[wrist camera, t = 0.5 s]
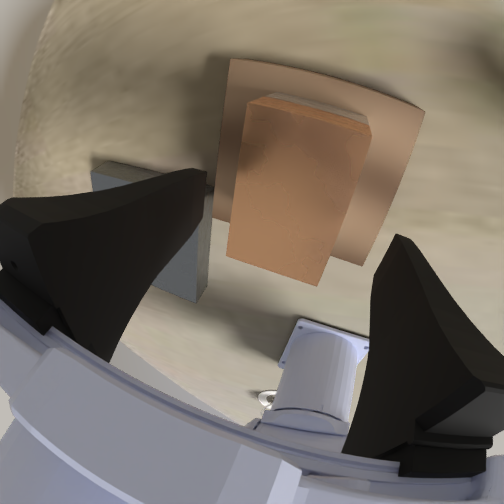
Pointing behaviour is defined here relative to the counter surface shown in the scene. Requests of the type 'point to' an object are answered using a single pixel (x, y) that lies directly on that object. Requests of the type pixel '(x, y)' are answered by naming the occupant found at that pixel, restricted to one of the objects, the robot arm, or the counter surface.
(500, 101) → the counter surface
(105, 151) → the counter surface
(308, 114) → the block
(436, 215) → the counter surface
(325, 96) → the stand
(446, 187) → the counter surface
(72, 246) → the robot arm
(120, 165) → the stand
